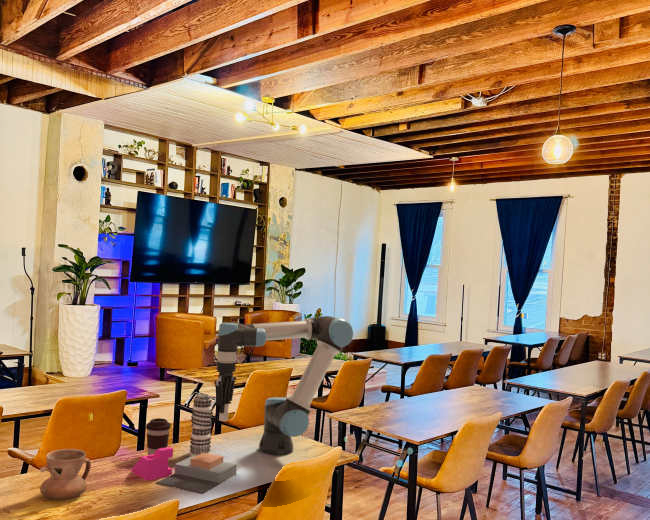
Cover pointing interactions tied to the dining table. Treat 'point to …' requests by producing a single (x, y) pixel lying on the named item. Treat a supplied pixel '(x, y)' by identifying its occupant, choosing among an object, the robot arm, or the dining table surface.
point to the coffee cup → (157, 434)
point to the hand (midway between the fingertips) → (223, 420)
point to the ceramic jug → (65, 474)
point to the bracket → (154, 464)
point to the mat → (188, 483)
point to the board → (206, 471)
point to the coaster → (206, 460)
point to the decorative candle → (201, 424)
